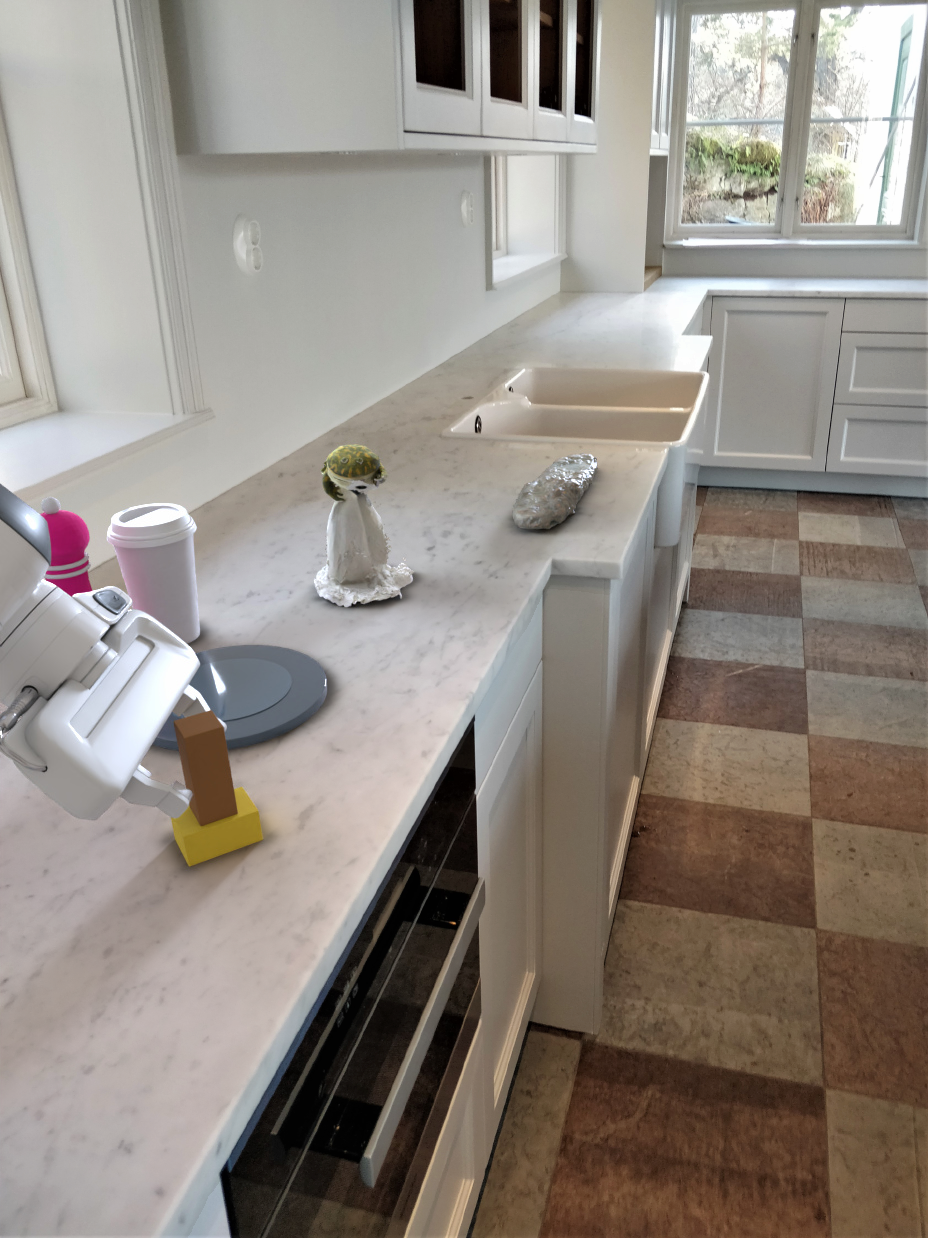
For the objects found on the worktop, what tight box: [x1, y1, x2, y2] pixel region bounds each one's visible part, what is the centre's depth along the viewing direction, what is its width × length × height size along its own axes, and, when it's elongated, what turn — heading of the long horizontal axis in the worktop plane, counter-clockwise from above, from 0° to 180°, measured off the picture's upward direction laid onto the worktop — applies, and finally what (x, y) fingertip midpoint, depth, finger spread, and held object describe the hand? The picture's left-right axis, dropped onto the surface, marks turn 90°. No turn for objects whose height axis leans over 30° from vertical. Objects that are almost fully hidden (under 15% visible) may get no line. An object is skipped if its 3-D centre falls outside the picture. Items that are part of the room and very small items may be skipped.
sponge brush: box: [170, 710, 264, 867], centre depth 75 cm, size 6×4×11 cm, turn 121°
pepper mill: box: [39, 496, 94, 597], centre depth 100 cm, size 7×7×20 cm
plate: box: [152, 644, 328, 752], centre depth 97 cm, size 20×20×1 cm
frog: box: [313, 444, 415, 608], centre depth 119 cm, size 12×13×18 cm
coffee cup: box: [106, 502, 201, 645], centre depth 108 cm, size 10×10×15 cm
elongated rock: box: [511, 452, 599, 530], centre depth 152 cm, size 35×5×10 cm
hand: (204, 770), depth 73 cm, fingers open, 8 cm apart
